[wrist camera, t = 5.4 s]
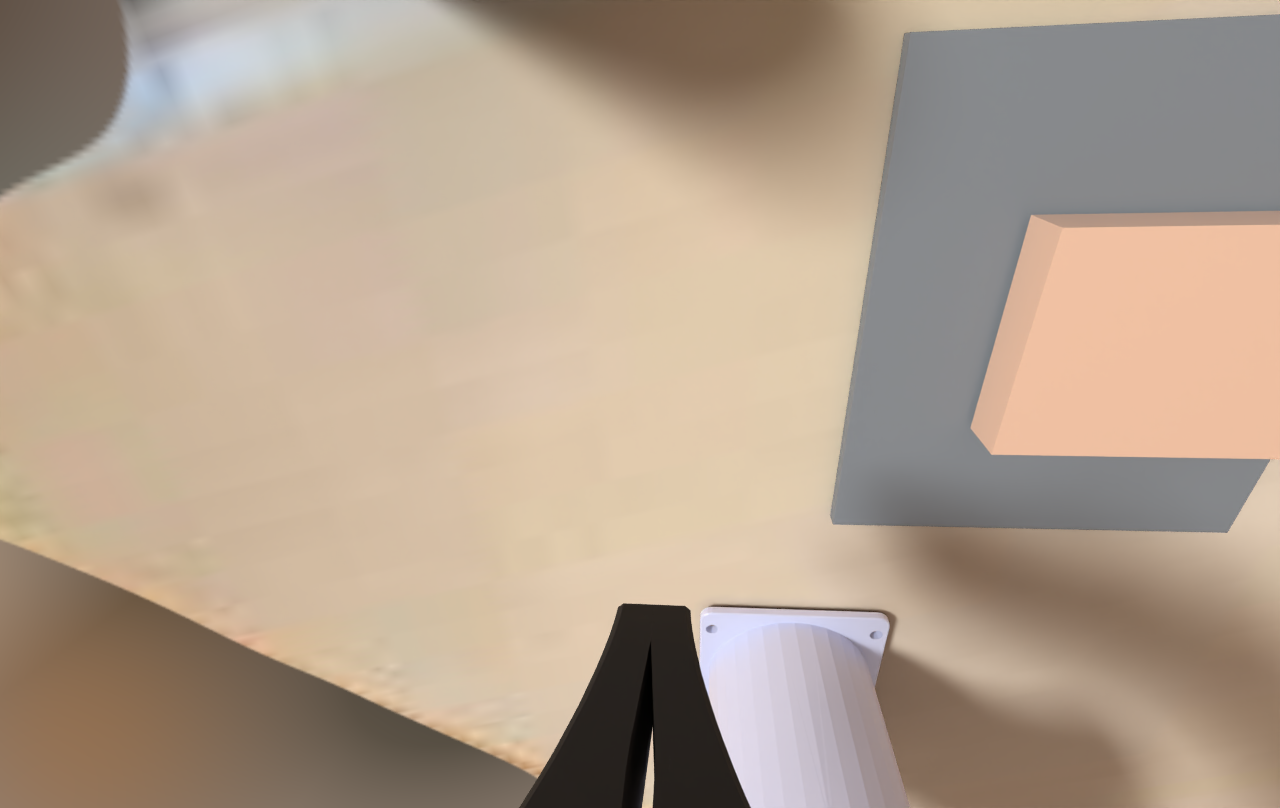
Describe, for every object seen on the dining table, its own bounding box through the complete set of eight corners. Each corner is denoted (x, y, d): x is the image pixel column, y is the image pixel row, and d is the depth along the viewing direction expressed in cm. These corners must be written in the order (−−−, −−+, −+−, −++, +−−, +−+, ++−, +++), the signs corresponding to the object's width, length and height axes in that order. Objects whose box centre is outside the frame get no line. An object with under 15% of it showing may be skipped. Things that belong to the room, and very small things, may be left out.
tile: (967, 424, 20) (1253, 428, 19) (991, 454, 18) (1303, 459, 18) (1027, 213, 17) (1377, 207, 16) (1062, 228, 15) (1452, 222, 14)
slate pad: (1216, 523, 22) (1227, 532, 21) (830, 515, 23) (832, 524, 23) (1512, 4, 14) (1538, 2, 14) (904, 33, 15) (910, 32, 15)
